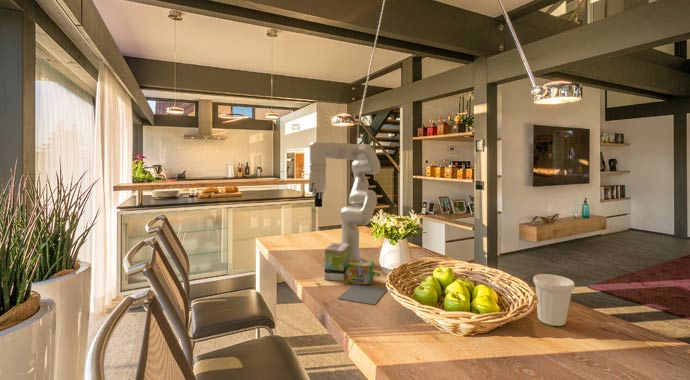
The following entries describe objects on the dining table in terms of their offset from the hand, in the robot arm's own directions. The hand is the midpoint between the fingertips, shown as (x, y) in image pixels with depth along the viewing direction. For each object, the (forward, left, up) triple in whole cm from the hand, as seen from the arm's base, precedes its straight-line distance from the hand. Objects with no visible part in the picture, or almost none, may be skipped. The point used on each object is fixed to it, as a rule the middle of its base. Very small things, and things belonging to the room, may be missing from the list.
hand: (318, 206), depth 168 cm
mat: (+12, +27, -35) cm, 46 cm away
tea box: (-6, +7, -35) cm, 36 cm away
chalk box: (-1, +15, -30) cm, 34 cm away
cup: (+10, +97, -35) cm, 104 cm away
